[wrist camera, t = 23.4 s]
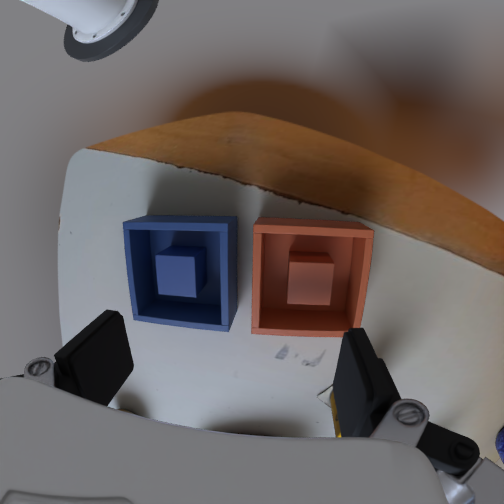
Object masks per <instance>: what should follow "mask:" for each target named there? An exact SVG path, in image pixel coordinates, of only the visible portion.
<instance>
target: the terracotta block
mask: <svg viewBox="0 0 504 504" xmlns="http://www.w3.org/2000/svg"><path fill="white" fill-rule="evenodd" d="M334 266H335V263H334V262H333V260H332V258H331V257H330V255H329V253H327V252H305V251H289V257H288V275H287V304H309V305H330V302H331V293H332V285H333V276H334Z"/></svg>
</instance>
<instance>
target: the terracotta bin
mask: <svg viewBox="0 0 504 504" xmlns="http://www.w3.org/2000/svg"><path fill="white" fill-rule="evenodd" d="M253 232H254V233H253V277H252V328H251V334H262V335H280V336H305V337H343V334H344V332H348V330H349V328H360V326H361V320H362V315H363V310H364V304H365V298H366V292H367V285H368V279H369V272H370V264H371V256H372V247H373V238H374V230H373V229H371V228H369V227H367V226H365V225H364V224H362V223H360V222H350V221H333V220H315V219H294V218H270V217H259V218H258V219H257V220H256V222H255V223H254V225H253ZM289 251H305V252H327V253H329V255H330V257H331V258H332V260H333V262H334V263H335V266H334V276H333V285H332V293H331V302H330V305H309V304H287V275H288V257H289Z"/></svg>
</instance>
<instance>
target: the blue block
mask: <svg viewBox="0 0 504 504" xmlns="http://www.w3.org/2000/svg"><path fill="white" fill-rule="evenodd" d="M155 260H156V273H157V284H158V294H164V295H174V296H184V297H195V298H196V297H197V296H198V295H199V293H200V292H201V291H202V289H203V288H204V287H205V285H206V284H207V264H206V247H193V246H169V247H168V248H166V249H164V250H163V251H161V252H159V253H157V254H156V255H155Z"/></svg>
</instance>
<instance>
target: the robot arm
mask: <svg viewBox="0 0 504 504" xmlns="http://www.w3.org/2000/svg"><path fill="white" fill-rule="evenodd" d="M21 1H23V2H25V3H27V4H30V5H32V6H34V7H36V8H38V9H40V10H42V11H44V12H46V13H48V14H50V15H52V16H54V17H55V18H57V19H59V20H61V21H63V22H65V23H67V24H68V25H70V26H72V27H73V36H74V38H75V39H76V40H78V41H79V42H81V43H87V44H88V43H94V42H96V41H99V40H101V39H103V38H105V37H107V36H108V35H110V34H111V33H113V32H114V31H115V30H117V29H118V28H119V27H120V26H121V25H122V24H123V23H124V22H125V21H126V20H127V19H128V17H129V16H130V15H131V13H132V12H133V10H134V8H135V7H136V4H137V1H138V0H21ZM54 356H55V359H56V362H55V363H53V361H52V360H51V359H49V358H46V357H41V358H36V359H34V360H31V361H30V362H29V363H28V364H27V365H26V367H25V371H24V374H23V375H17V376H12V377H6V378H1V379H0V504H504V470H503V469H501V468H500V467H499V466H498V465H496V464H495V463H493V462H492V461H491V460H489V459H488V458H487V457H485V458H484V459H482V458H480V457H479V455H480V451H479V447H478V445H477V444H476V443H475V442H474V441H473V440H472V439H470V438H468V437H465V436H463V435H460V434H457V433H455V432H452V431H450V430H448V429H445V428H443V427H440V426H438V425H436V424H433V423H431V422H429V421H428V420H429V416H430V415H429V411H428V409H427V407H426V406H425V405H424V404H423V403H421V402H419V401H417V400H414V399H401V397H400V395H399V393H398V390H397V388H396V386H395V384H394V382H393V379H392V377H391V375H390V373H389V371H388V369H387V367H386V365H385V362H384V361H383V359H381V358H377V355H376V353H375V351H374V349H373V347H372V345H371V343H370V340H369V338H368V336H367V334H366V332H365V330H364V328H349V330H348V332H344V334H343V339H342V344H341V349H340V354H339V359H338V363H337V368H336V372H335V377H334V381H333V393H334V398H335V404H336V409H337V415H338V420H339V426H340V432H341V437H336V438H295V437H270V436H255V435H244V434H234V433H225V432H218V431H211V430H204V429H198V428H192V427H187V426H181V425H176V424H172V423H167V422H162V421H158V420H154V419H150V418H146V417H142V416H138V415H134V414H131V413H127V412H124V411H120V410H117V409H114V408H110V407H107V406H108V404H109V403H110V402H111V400H112V399H113V397H114V396H115V395H116V393H117V392H118V390H119V389H120V388H121V386H122V385H123V383H124V382H125V381H126V379H127V378H128V376H129V375H130V374H131V372H132V371H133V368H134V363H133V359H132V355H131V351H130V347H129V342H128V338H127V333H126V328H125V324H124V319H123V316H122V315H120V313H119V312H118V311H113V310H105V311H104V312H103V313H102V314H101V315H99V316H98V317H97V318H96V319H95V320H94V321H92V322H91V323H90V324H89V325H88V326H86V327H85V328H84V329H83V330H82V331H81V332H80V333H78V334H77V335H76V336H75V337H74V338H73V339H71V340H70V341H69V342H68V343H67V344H66V345H65V346H64V347H62V348H61V349H60V350H59V351H58V352H57V353H56V354H55V355H54Z"/></svg>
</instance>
